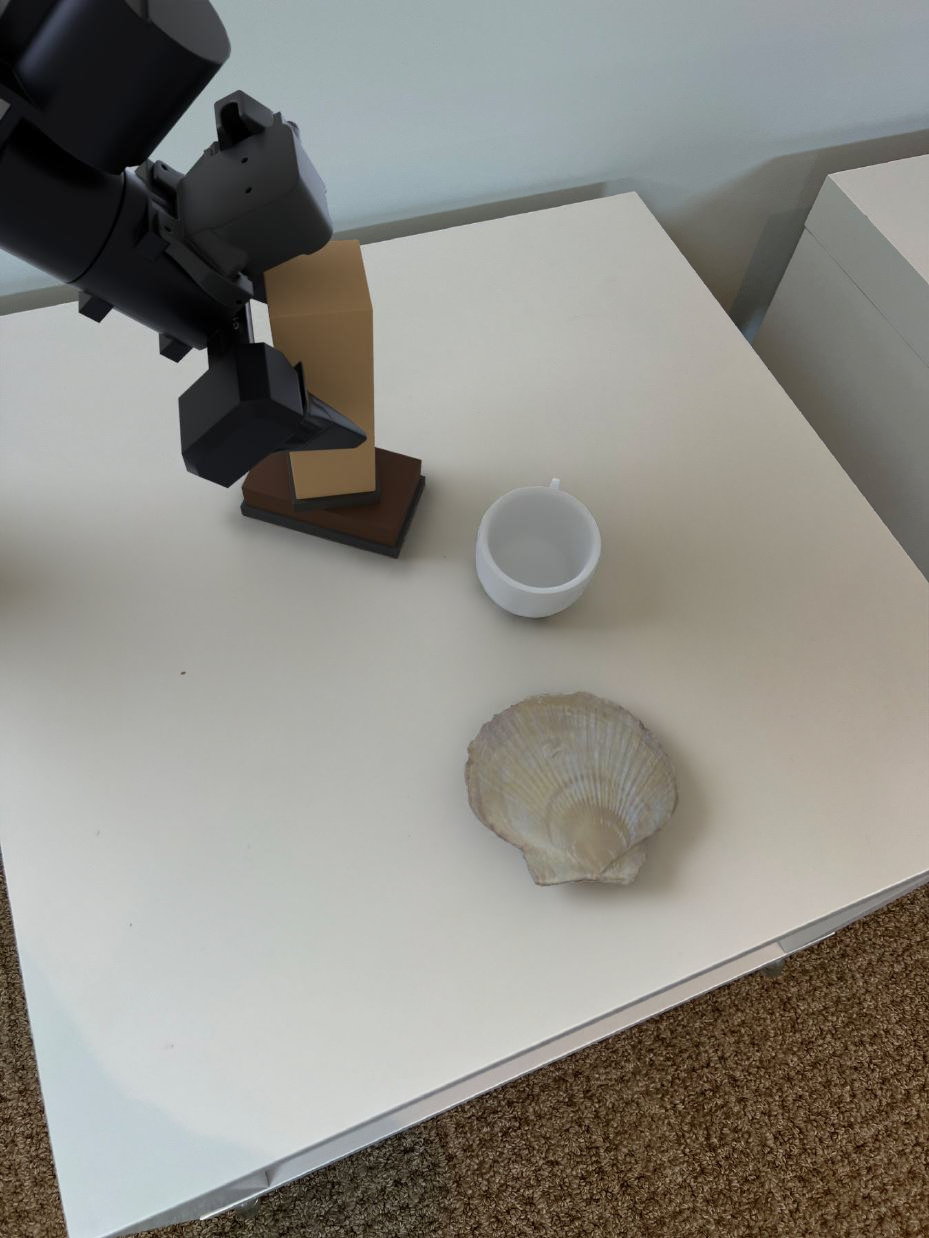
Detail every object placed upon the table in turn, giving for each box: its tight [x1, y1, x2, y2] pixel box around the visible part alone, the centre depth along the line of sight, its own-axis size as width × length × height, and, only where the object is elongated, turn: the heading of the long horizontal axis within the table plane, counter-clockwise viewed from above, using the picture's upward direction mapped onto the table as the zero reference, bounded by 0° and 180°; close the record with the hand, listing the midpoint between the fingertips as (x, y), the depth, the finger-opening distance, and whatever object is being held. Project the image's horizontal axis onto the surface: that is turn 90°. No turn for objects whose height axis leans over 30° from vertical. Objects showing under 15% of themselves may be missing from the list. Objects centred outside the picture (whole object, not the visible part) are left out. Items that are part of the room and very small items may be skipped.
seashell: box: [463, 691, 680, 888], centre depth 50 cm, size 12×12×3 cm
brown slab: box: [239, 446, 427, 560], centre depth 58 cm, size 11×6×3 cm, turn 74°
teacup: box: [475, 477, 602, 619], centre depth 56 cm, size 10×8×5 cm
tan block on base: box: [263, 239, 381, 513], centre depth 50 cm, size 6×6×16 cm
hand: (350, 378), depth 49 cm, fingers open, 9 cm apart
